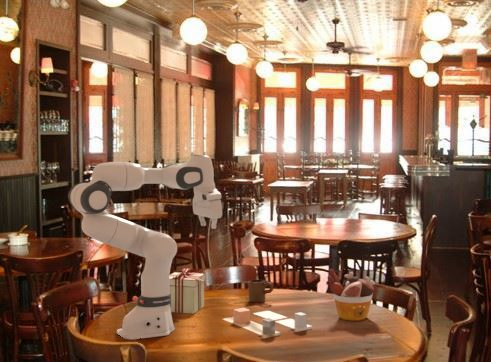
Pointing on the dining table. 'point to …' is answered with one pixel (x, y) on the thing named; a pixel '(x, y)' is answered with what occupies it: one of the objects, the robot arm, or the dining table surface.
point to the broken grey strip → (288, 320)
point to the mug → (258, 290)
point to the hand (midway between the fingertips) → (208, 227)
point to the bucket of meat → (352, 296)
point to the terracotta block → (241, 316)
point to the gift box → (187, 291)
